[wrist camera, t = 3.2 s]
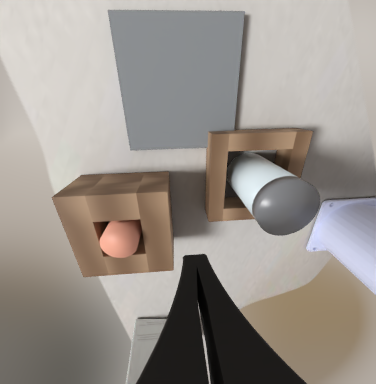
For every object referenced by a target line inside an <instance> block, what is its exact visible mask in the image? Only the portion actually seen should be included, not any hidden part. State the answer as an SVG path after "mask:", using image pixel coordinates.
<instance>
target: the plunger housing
mask: <svg viewBox="0 0 376 384" xmlns="http://www.w3.org/2000/svg"><path fill="white" fill-rule="evenodd" d="M52 200H53V202H54V205H55V207H56V210H57V212H58V215H59V217H60V219H61V222H62V225H63V227H64V230H65V232H66V234H67V237H68V239H69V242H70V245H71V247H72V249H73V252H74V255H75V257H76V259H77V262H78V265H79V267H80V270H81V272H82V275H83V277H91V276H105V275H118V274H132V273H145V272H158V271H171V270H174V238H173V224H172V210H171V195H170V181H169V171H167V172H144V173H121V174H98V175H81V176H80V177H78V178H77V179H76V180H74V181H73V182H72V183H70V184H69V185H68V186H66V187H65V188H64V189H62V190H61V191H60V192H58V193H57V194H56V195H54V196H53V197H52ZM137 219H140V220H141V226H142V231H141V235H140V239H139V243H138V247H137V250H136V252H135V253H134V254H132V255H131V256H128V257H125V258H116V257H112V256H110V255H108V254H106V253H105V252H104V251H103V250H102V249H101V247H100V238H101V236H102V234H103V233H104V231H105V229H106V227H107V225H108V224H109V222H110V221H120V220H137Z"/></svg>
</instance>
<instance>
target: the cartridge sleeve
mask: <svg viewBox="0 0 376 384" xmlns="http://www.w3.org/2000/svg"><path fill="white" fill-rule="evenodd" d="M312 134H313V131H309V130H304V129H298V128H282V129H249V130H234V131H210V132H208V148H207V154H206V193H205V211H206V214H207V218H208V221H209V222H213V221H230V220H246V219H255V218H254V217H253V215H252V214H251V213H250V211H249V210H248V209H247V207H246V206H245V204H244V203H243V202H242V200H241V199H240V198H239V197H225V184H226V171H227V159H228V151H251V150H277V152H276V157H275V162H274V164H276V165H277V166H279V167H281V168H283V169H284V170H286V171H288V172H290V173H292V174H293V175H295V176H297V177H299V178H300V177H301V174H302V170H303V166H304V163H305V159H306V155H307V152H308V148H309V145H310V141H311V137H312ZM224 197H225V198H224Z"/></svg>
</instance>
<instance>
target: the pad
mask: <svg viewBox="0 0 376 384" xmlns="http://www.w3.org/2000/svg"><path fill="white" fill-rule="evenodd" d="M244 14H245V11H170V10H108V15H109V21H110V27H111V34H112V40H113V46H114V52H115V58H116V65H117V71H118V77H119V83H120V89H121V96H122V102H123V108H124V114H125V120H126V127H127V133H128V139H129V145H130V150H153V149H181V148H208V132H210V131H234V126H235V115H236V104H237V92H238V81H239V70H240V59H241V48H242V36H243V25H244Z"/></svg>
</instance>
